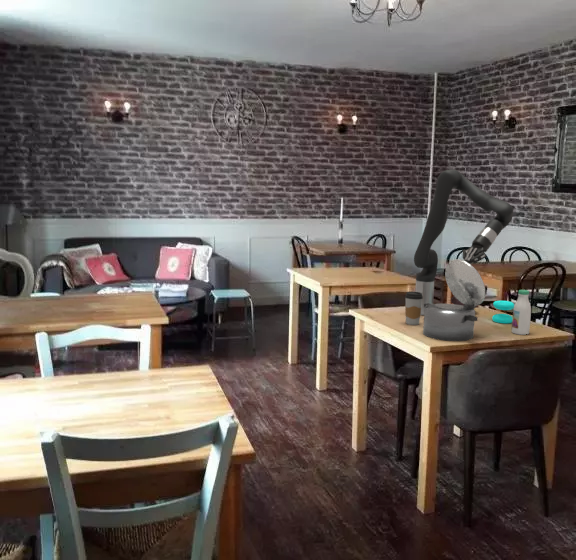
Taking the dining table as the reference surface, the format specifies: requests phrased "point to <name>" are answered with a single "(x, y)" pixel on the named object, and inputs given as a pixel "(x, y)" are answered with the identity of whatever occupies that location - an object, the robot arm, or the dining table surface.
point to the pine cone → (458, 302)
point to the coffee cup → (413, 307)
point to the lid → (465, 283)
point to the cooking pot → (449, 322)
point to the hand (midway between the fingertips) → (463, 268)
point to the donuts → (503, 317)
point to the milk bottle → (521, 314)
